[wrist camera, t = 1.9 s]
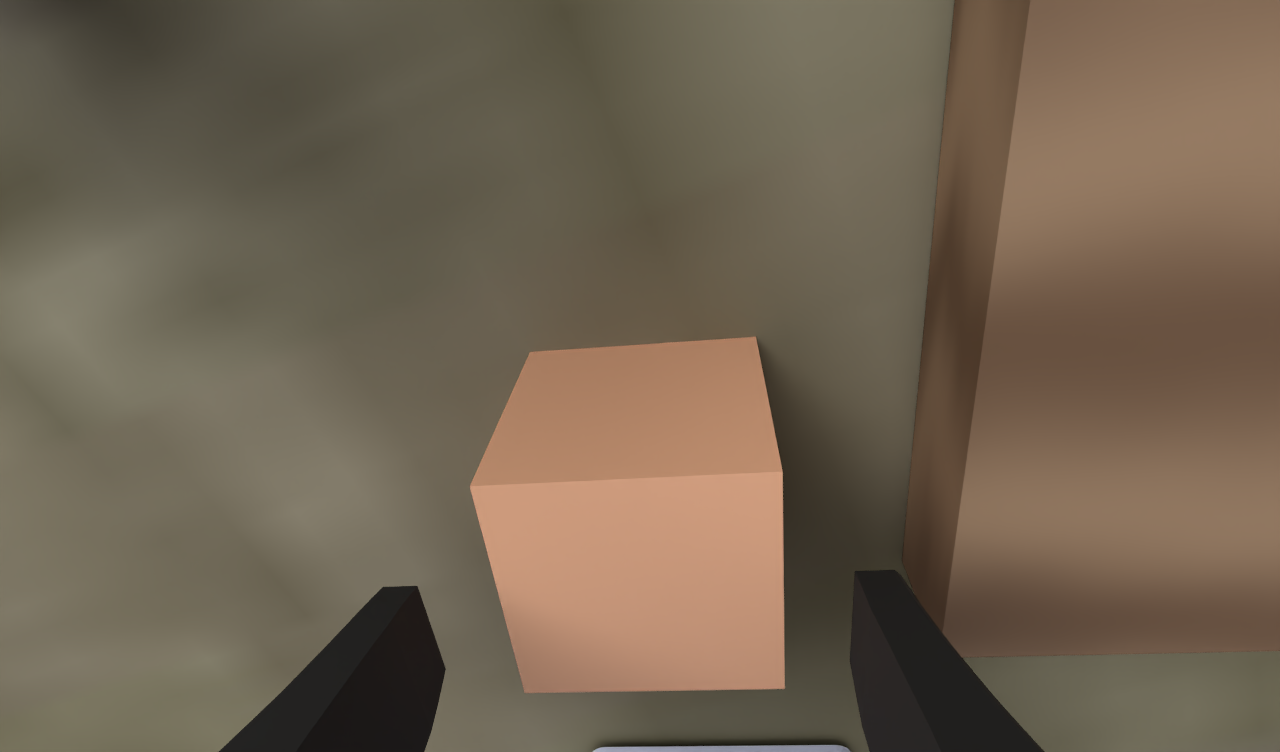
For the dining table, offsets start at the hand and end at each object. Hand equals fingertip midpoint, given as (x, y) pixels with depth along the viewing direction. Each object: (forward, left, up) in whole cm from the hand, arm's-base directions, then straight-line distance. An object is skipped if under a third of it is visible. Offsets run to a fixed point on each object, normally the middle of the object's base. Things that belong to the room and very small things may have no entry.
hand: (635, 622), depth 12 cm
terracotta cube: (0, 0, -6) cm, 6 cm away
